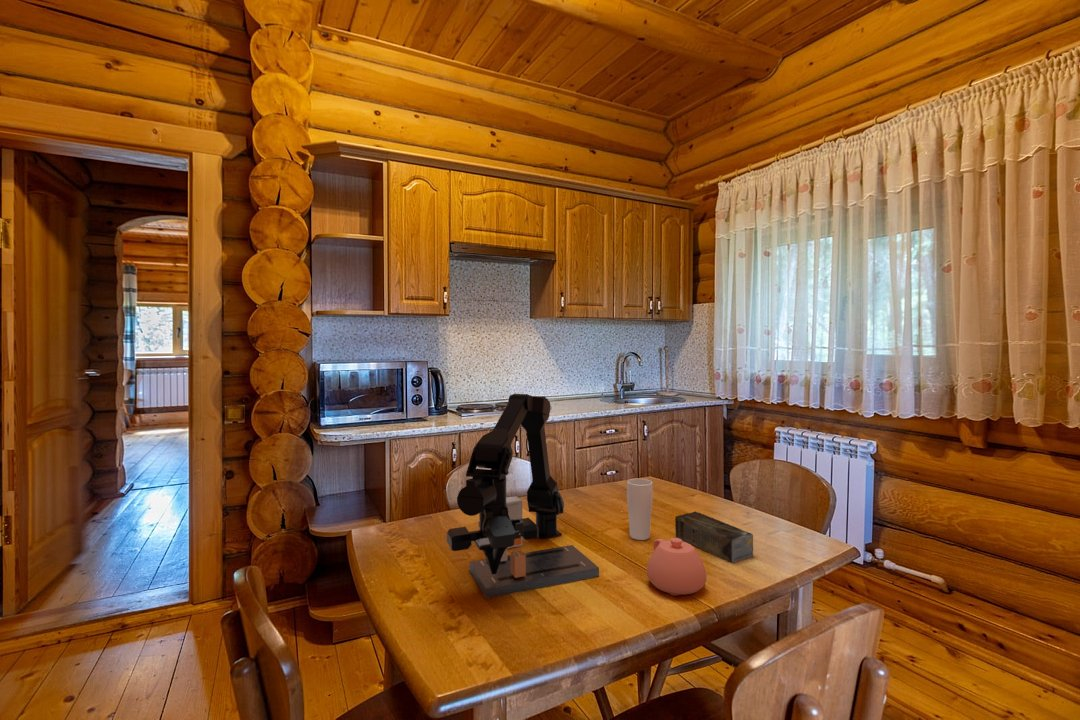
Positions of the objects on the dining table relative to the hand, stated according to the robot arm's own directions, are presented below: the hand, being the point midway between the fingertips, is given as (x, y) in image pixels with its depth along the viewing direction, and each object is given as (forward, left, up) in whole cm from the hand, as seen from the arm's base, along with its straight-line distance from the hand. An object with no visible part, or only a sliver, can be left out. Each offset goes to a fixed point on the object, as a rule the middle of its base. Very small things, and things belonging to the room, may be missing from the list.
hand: (493, 573), depth 111 cm
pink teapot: (+13, +36, -4) cm, 39 cm away
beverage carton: (-1, +58, -4) cm, 58 cm away
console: (-4, +10, -3) cm, 12 cm away
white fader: (-9, +4, -1) cm, 10 cm away
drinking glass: (-13, +44, -4) cm, 47 cm away
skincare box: (-21, +10, -4) cm, 24 cm away
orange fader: (0, +5, -1) cm, 6 cm away
